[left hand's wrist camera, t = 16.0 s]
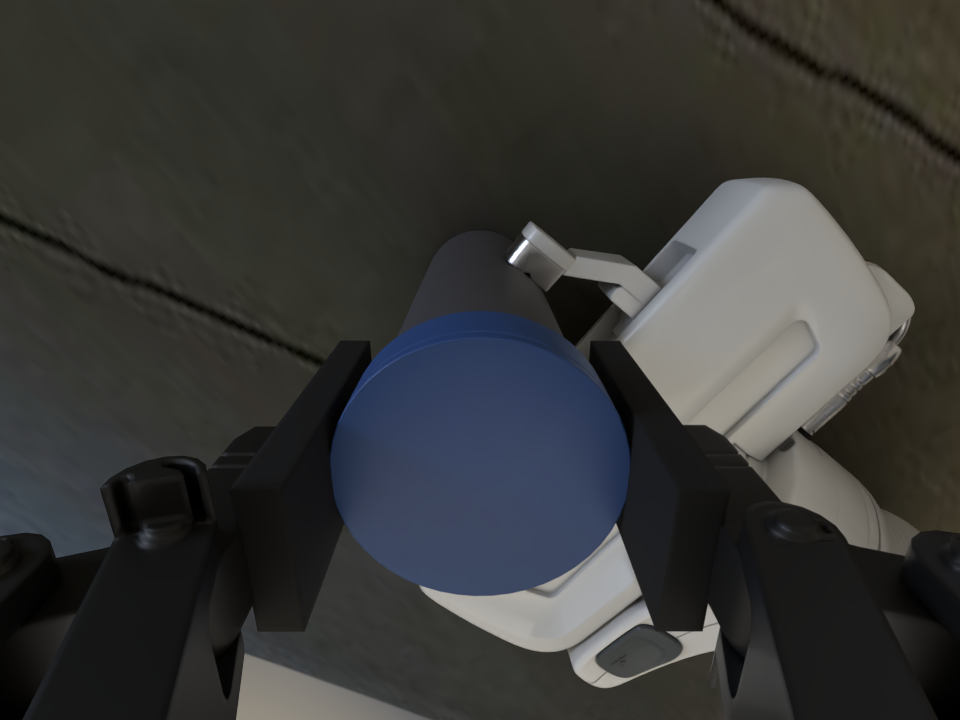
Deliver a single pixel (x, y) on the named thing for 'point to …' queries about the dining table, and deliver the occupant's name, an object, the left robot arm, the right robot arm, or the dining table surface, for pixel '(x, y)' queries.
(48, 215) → the dining table surface
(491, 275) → the jar
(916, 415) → the dining table surface
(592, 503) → the lid
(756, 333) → the right robot arm
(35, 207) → the dining table surface
